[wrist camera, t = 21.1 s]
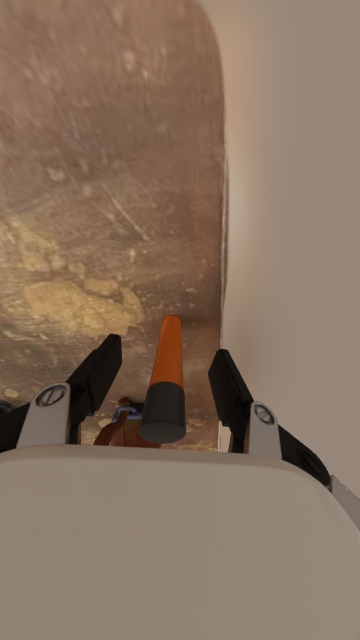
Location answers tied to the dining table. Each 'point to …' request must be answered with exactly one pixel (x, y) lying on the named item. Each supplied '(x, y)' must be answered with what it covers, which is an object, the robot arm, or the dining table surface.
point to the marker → (166, 389)
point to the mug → (125, 428)
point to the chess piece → (5, 407)
